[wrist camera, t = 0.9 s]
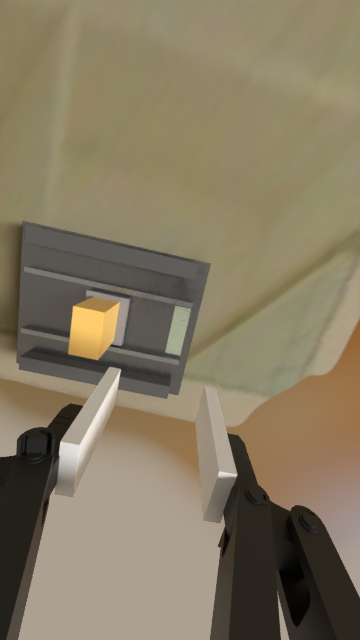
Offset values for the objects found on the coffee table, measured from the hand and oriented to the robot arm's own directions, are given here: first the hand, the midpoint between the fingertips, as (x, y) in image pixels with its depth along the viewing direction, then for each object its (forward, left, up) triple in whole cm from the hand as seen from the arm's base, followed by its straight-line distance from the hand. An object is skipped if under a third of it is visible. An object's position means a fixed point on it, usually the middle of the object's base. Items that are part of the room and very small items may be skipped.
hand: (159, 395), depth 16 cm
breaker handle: (0, -8, -15) cm, 17 cm away
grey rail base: (0, -8, -19) cm, 20 cm away
